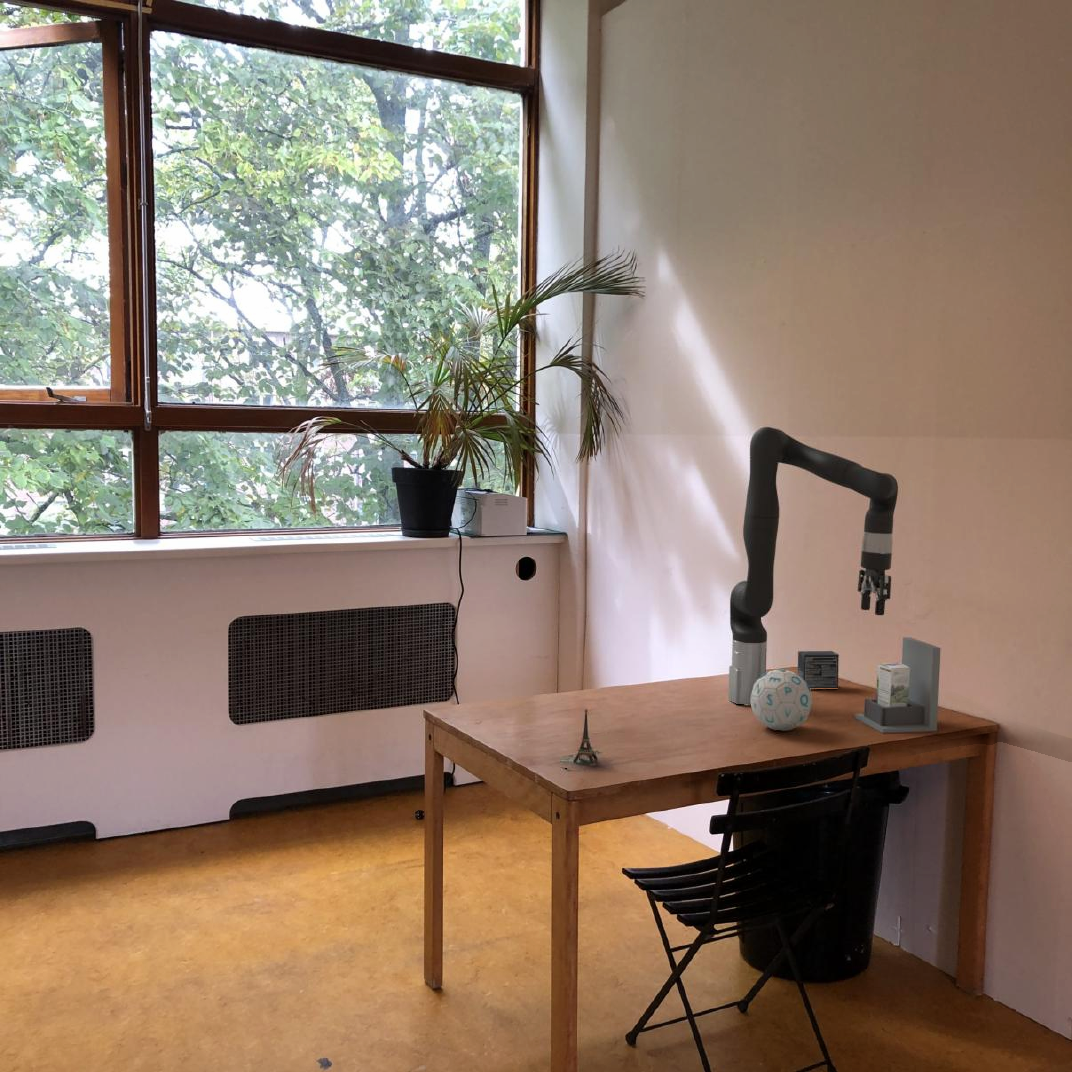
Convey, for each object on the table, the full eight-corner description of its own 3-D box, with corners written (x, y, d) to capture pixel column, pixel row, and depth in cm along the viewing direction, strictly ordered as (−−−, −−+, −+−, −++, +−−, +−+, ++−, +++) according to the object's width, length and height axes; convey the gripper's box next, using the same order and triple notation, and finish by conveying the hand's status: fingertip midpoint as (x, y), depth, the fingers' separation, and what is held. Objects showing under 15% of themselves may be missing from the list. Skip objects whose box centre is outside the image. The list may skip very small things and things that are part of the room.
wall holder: (882, 732, 270) (886, 649, 268) (854, 717, 285) (858, 638, 283) (936, 731, 272) (940, 648, 270) (906, 715, 287) (910, 637, 285)
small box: (831, 685, 323) (832, 650, 322) (838, 690, 316) (840, 654, 316) (796, 685, 322) (797, 650, 321) (803, 690, 316) (804, 654, 315)
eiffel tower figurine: (599, 752, 252) (600, 695, 251) (625, 763, 243) (626, 705, 242) (544, 762, 244) (544, 703, 243) (569, 774, 235) (570, 713, 234)
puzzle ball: (755, 737, 265) (757, 676, 263) (744, 721, 280) (746, 663, 278) (818, 737, 265) (820, 677, 263) (803, 721, 280) (805, 664, 278)
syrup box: (892, 717, 282) (895, 661, 280) (907, 722, 276) (910, 666, 275) (874, 718, 280) (876, 663, 278) (889, 724, 274) (891, 667, 273)
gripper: (851, 547, 288) (847, 607, 290) (874, 552, 274) (870, 616, 275) (878, 548, 289) (874, 608, 291) (903, 553, 275) (898, 617, 276)
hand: (872, 612), depth 283 cm, fingers open, 8 cm apart
